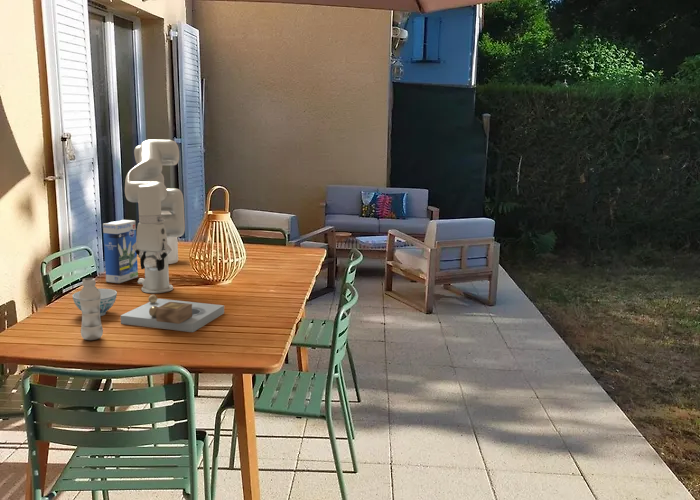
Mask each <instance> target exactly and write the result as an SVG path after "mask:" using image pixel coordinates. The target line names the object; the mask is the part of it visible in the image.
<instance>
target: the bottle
mask: <svg viewBox="0 0 700 500" xmlns="http://www.w3.org/2000/svg"><path fill="white" fill-rule="evenodd" d="M161 214H172V212H171V211H161ZM178 238H179V237H167V244H168V246H169V247H170V248H171V249H172V251H171V252H170V253H169V254H168V265H172V264H176V263H178V261H179V243H178V241H179V240H178Z"/></svg>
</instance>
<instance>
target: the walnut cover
mask: <svg viewBox="0 0 700 500" xmlns="http://www.w3.org/2000/svg"><path fill="white" fill-rule="evenodd" d="M190 317H192V304H187V303H178V302H168V303H166V304H164V305H162V306H160V307H158V308H156V320H157V321H159V322H168V323H176V324H180V323H182V322H183V321H185V320H187V319H189V318H190Z"/></svg>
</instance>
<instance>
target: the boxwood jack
mask: <svg viewBox="0 0 700 500" xmlns="http://www.w3.org/2000/svg"><path fill="white" fill-rule="evenodd" d="M147 298H148V302H150V303H155V302H156V301H157V298H158V296H157V295H155V294H150V295H149V296H148V297H147Z"/></svg>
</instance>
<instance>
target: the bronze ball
mask: <svg viewBox="0 0 700 500" xmlns="http://www.w3.org/2000/svg"><path fill="white" fill-rule="evenodd" d="M156 308H158V307H157V306H153V307H151V308H150V309H149V314H150V316H152V317H156Z"/></svg>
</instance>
